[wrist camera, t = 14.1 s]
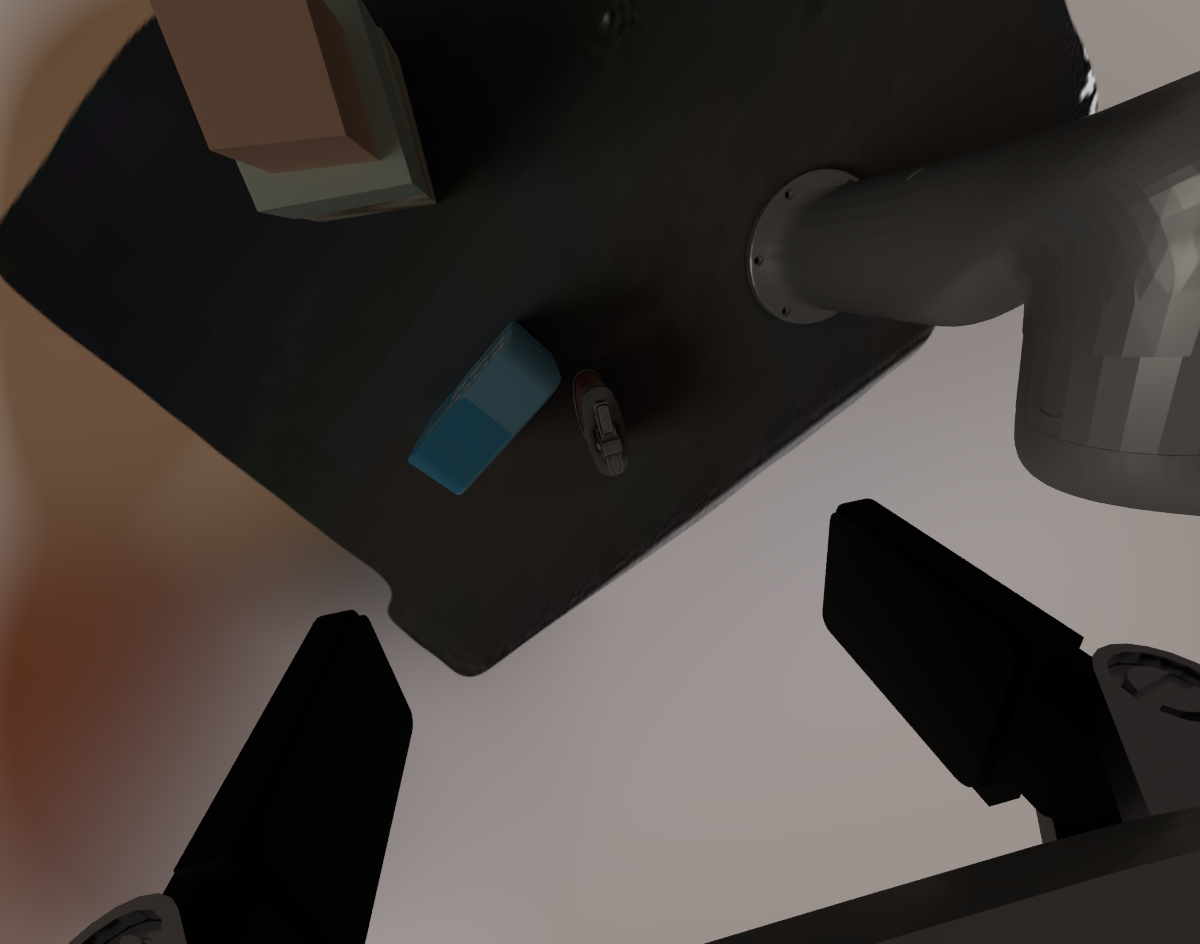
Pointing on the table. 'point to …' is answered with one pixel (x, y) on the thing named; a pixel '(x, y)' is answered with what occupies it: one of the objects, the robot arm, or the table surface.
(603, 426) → the lighter
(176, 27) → the terracotta cube
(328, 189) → the sage block
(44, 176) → the table surface
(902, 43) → the table surface
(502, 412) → the data package
